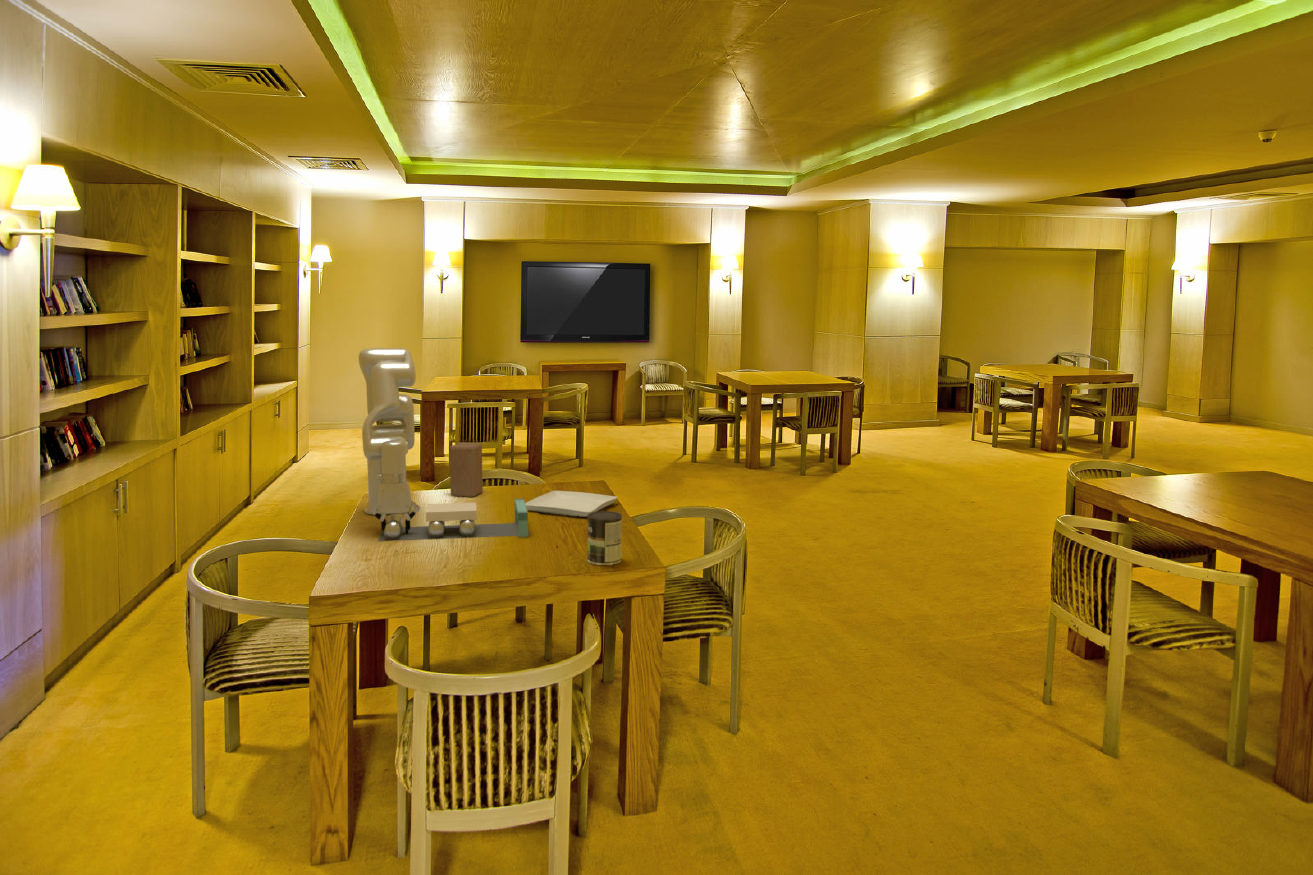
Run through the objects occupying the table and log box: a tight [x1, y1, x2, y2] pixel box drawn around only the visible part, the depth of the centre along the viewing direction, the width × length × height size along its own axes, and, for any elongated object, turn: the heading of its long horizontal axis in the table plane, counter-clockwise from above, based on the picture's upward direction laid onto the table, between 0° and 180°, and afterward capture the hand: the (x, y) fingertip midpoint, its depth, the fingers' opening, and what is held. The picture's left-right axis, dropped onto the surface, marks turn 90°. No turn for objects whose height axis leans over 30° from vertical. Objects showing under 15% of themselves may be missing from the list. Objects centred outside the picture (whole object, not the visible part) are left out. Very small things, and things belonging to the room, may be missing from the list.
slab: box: [425, 502, 478, 522], centre depth 305 cm, size 12×16×3 cm
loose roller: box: [384, 514, 404, 540], centre depth 302 cm, size 16×5×5 cm, turn 12°
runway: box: [377, 498, 531, 542], centre depth 306 cm, size 21×48×8 cm, turn 102°
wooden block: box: [449, 442, 484, 498], centre depth 364 cm, size 10×10×20 cm
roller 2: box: [459, 520, 476, 537], centre depth 307 cm, size 16×5×5 cm, turn 12°
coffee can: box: [586, 510, 623, 566], centre depth 276 cm, size 10×10×14 cm
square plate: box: [525, 490, 619, 518], centre depth 344 cm, size 27×27×4 cm
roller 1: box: [428, 521, 446, 538], centre depth 305 cm, size 16×5×5 cm, turn 12°
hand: (395, 531), depth 303 cm, fingers open, 6 cm apart
